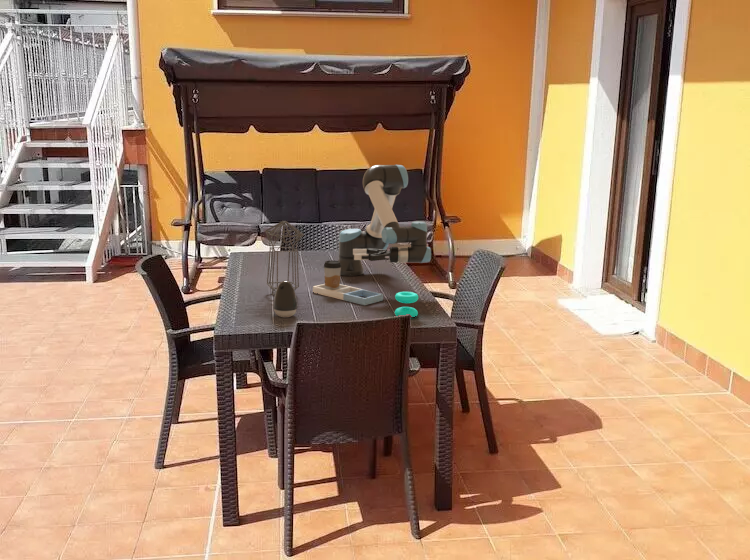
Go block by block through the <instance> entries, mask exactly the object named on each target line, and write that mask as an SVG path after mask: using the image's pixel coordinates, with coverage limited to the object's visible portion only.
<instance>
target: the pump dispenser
mask: <svg viewBox="0 0 750 560" xmlns="http://www.w3.org/2000/svg"><path fill="white" fill-rule="evenodd" d="M280 282H281V283H278V288H277V287H276V288H277V289H275V291H276V293H275V292H274V295H275V296H274V297H273V305H272V306H273V310H274V313H275V314H276V315H277V316H278V317H280V318H291V317H292V316H294V315H295V314H296V313H297V309H298V300H297V296H296V292H295V291H296V290H295V291H294V289H295V288H293V287H294V286H293V284H292V283H290V282H291V281H289V282H288V281H287V280H283V281H280ZM291 284H292V285H291Z"/></svg>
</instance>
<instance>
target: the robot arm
mask: <svg viewBox="0 0 750 560" xmlns="http://www.w3.org/2000/svg"><path fill="white" fill-rule="evenodd" d="M408 184H409V174H408V171H407V169H406V167H405V166H404V165H402V164H375V165H372V166H369V168H367V170H366V171H365V172H364V175H363V178H362V187H363V190H364V193H365V194H366V195H368V197H369V198H370V202H371V203H372V207H373V208H374V210H373V214H372V217H371V221H370V224H368V225H366V229H365V230H364V231H363V230H362V229H360V228H348V229H347V228H346V229H344V230H342V231H340V232H339V236H338V260H337V261H340V264H341V271H340V276H345V277H346V276H347V277H353V276H354V277H356V276H361V275H364V271H365V269H364V267H363V263H362V261H370V262H375V261H389V262H390V263H398V262H399V263H402V264H406V263H412V264H413V263H419V264H423V263H430V262H431V259H432V249H431V247H430V246H427V237H428V223H426V222H425V221H418V220H417V221H412V222H411V223H410V226H409V225H408V226H400V224H399V222H398V219H397V217H396V215H395V212H394V211H393V206H394V204H395V201H396V197H397V196H398V195H400V193H401V190H402V189H405V188H407V187H408ZM403 243H404V244H406V243H407V244H408V243H409V244H410V246H399V247H398V246H390V247H389V244H391V245H393V244H403ZM388 247H389V250H388V249H387V248H388Z"/></svg>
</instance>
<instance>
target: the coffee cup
mask: <svg viewBox="0 0 750 560" xmlns="http://www.w3.org/2000/svg"><path fill="white" fill-rule="evenodd" d="M323 269H324V270H323V271H324V272H323V273H324V284H325V289H329V290H336V289H339V285H340V284H341V275H340V271H341V264H340V261H338V260H326V261H325V260H324V263H323Z"/></svg>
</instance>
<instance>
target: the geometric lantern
mask: <svg viewBox="0 0 750 560" xmlns="http://www.w3.org/2000/svg"><path fill="white" fill-rule="evenodd" d="M288 228H289V229H288ZM281 229H282V231H281ZM285 229H286V230H285ZM263 232H264V233H265V235H266V237H267V240H268V243H269V245H271V246H269V251H268V252H269V254H268V266H267V277H266V285H267V286H268V287H269V288H270V289H271V295H272V296H274V297H275V293H276V290H277V288H278V286H279V284H280V283H281V282H282V281H279V253H288V262H287V263H288V265H287V280H286V281H288V282H290V283H291V285H292V286H293V285H294V286H293V288H294V291H296V290H297V289H298V288H299V287H300V281H299V280H300V279H299V278H300V277H299V253H298V252H299V250H298V248H297V247H298V244H297V243H298V242H300V241H301V239H302V238H303V237H304V236H305V234H304V233H303V232H301V231H300V230H299V229H298V228H296V227H295V226H294V225H292V224H291V222H290V223H289V222H288V221H286V220H282V221H280V222H278V223H276V224H275V225H273V226H271V227H269V228H267V229H265V230H264V231H263ZM292 232H294V234H295V235H294V234H293V235H291V233H292ZM279 233H280V234H279ZM281 233H282V234H281ZM286 233H287V234H286ZM273 237H276V238H275V240H274V243H273V241H272V239H273ZM285 238H289V240H288V241H287V240H286V239H285ZM291 238H293V239H291ZM278 239H279V240H280V241H281V242H282V243H281V244H280V245H279V247H278V246H277V247H275V244H276V242H277V240H278ZM293 241H294V243H293ZM289 243H290V245H291V246H290V245H289ZM283 244H286V245H287V246H282V245H283ZM295 245H296V247H295ZM284 248H285V249H288V250H283V251H281V250H279V249H284ZM275 259H276V261H275ZM290 260H291V261H290ZM275 262H276V281H274V274H275V273H274V272H275ZM290 263H292V265H291V268H292V270H291V271H292V273H291V275H292V281H289V278H290ZM274 284H276V287H274Z"/></svg>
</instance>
